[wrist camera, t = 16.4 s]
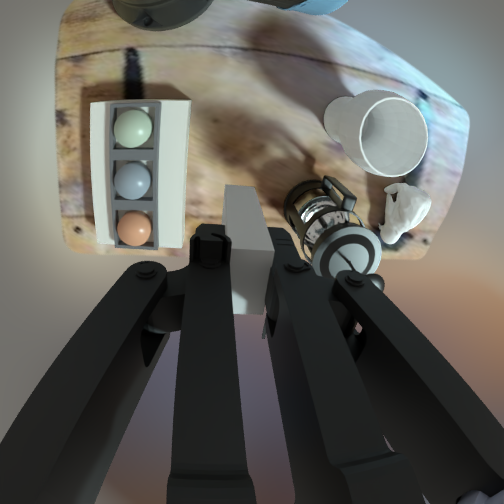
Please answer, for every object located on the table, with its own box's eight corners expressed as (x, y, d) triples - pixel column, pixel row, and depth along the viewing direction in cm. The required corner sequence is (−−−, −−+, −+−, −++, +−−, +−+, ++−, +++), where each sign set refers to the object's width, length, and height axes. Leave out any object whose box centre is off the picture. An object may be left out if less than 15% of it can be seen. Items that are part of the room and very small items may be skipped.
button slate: (118, 160, 38) (113, 164, 37) (152, 161, 39) (148, 164, 37) (119, 194, 41) (115, 199, 39) (151, 195, 42) (148, 200, 40)
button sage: (119, 109, 35) (114, 110, 33) (154, 109, 35) (151, 110, 34) (118, 144, 37) (113, 147, 36) (152, 145, 38) (149, 147, 36)
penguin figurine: (442, 201, 41) (411, 261, 48) (416, 179, 48) (392, 234, 55) (414, 192, 40) (383, 257, 47) (389, 170, 47) (365, 229, 54)
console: (100, 101, 37) (86, 103, 32) (191, 99, 39) (187, 101, 34) (105, 232, 48) (94, 248, 43) (184, 236, 50) (180, 253, 45)
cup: (300, 110, 41) (336, 122, 28) (354, 75, 39) (407, 76, 26) (337, 165, 46) (380, 198, 33) (387, 130, 44) (442, 152, 31)
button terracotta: (119, 208, 42) (116, 214, 40) (152, 210, 43) (149, 215, 41) (122, 238, 44) (118, 245, 43) (152, 240, 45) (150, 247, 43)
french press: (326, 240, 53) (380, 332, 33) (275, 230, 51) (309, 327, 31) (349, 177, 47) (427, 247, 28) (295, 163, 46) (353, 228, 26)
